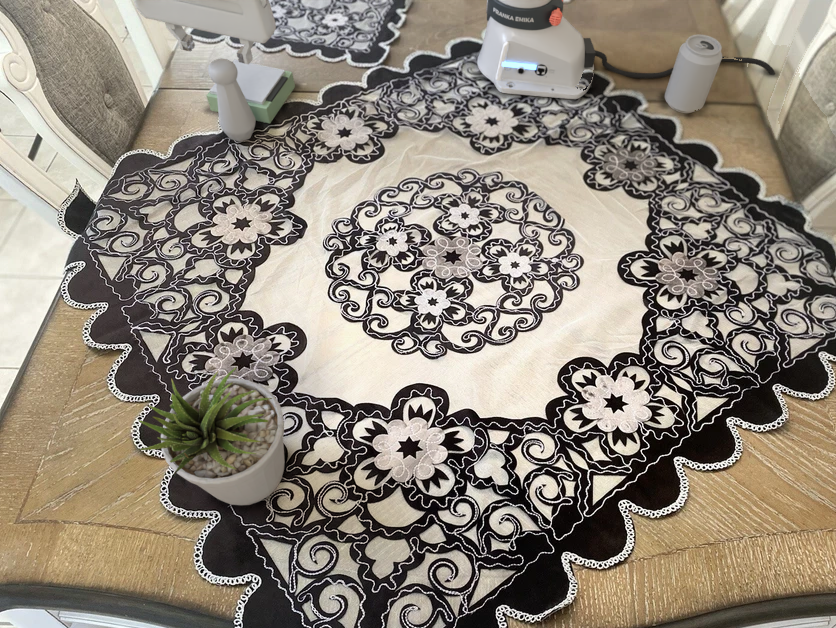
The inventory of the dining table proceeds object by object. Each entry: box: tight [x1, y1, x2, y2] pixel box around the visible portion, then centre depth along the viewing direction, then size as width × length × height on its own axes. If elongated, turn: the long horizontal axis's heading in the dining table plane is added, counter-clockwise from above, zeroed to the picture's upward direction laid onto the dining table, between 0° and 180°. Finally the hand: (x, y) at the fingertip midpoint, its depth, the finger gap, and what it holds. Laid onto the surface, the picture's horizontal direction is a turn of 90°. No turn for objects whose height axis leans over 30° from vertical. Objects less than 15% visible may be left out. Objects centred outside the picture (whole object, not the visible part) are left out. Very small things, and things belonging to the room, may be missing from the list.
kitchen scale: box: [206, 58, 296, 124], centre depth 118 cm, size 11×11×4 cm
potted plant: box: [138, 366, 286, 506], centre depth 73 cm, size 13×14×20 cm
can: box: [664, 34, 723, 114], centre depth 122 cm, size 8×8×12 cm
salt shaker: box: [207, 58, 256, 143], centre depth 109 cm, size 6×6×13 cm
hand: (217, 55), depth 102 cm, fingers open, 8 cm apart
